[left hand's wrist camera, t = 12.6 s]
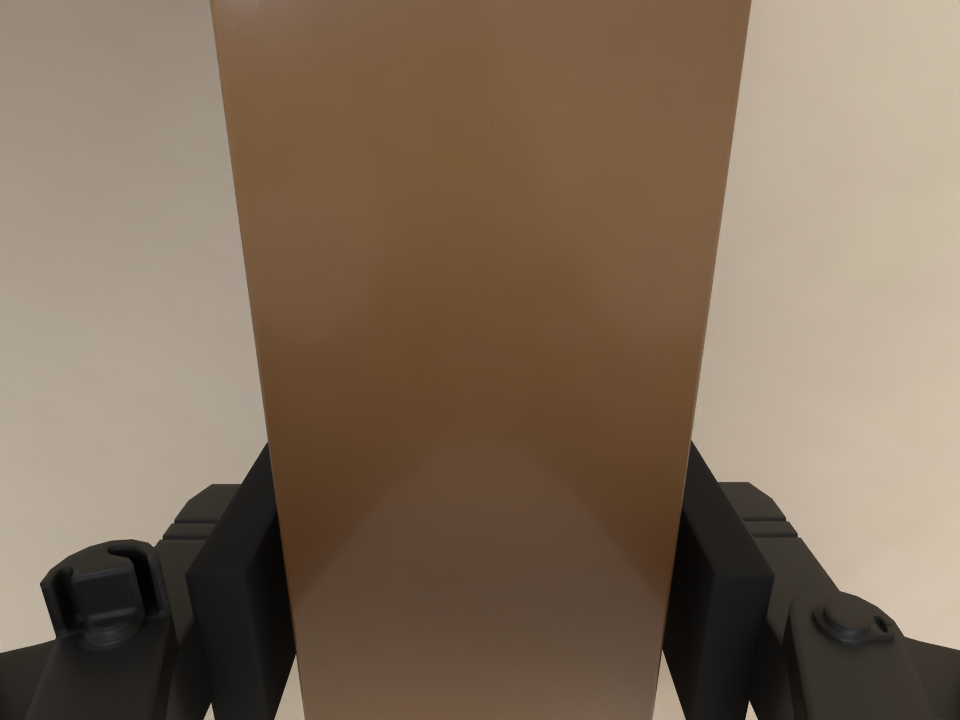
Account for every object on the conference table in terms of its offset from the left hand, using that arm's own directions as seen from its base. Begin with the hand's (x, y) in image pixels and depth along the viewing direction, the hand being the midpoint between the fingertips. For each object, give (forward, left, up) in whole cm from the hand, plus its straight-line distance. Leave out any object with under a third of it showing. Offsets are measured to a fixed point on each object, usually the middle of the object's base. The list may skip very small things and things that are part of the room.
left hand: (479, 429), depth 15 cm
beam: (+3, +29, -2) cm, 29 cm away
